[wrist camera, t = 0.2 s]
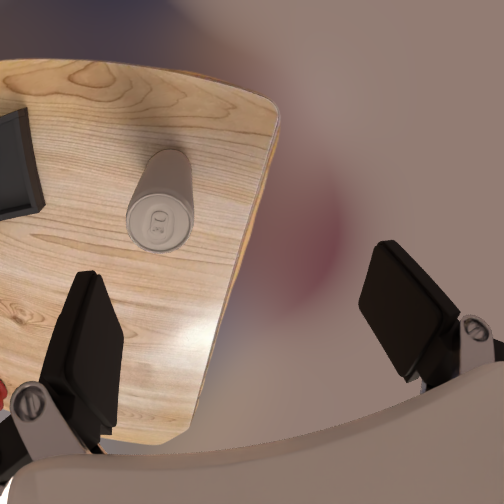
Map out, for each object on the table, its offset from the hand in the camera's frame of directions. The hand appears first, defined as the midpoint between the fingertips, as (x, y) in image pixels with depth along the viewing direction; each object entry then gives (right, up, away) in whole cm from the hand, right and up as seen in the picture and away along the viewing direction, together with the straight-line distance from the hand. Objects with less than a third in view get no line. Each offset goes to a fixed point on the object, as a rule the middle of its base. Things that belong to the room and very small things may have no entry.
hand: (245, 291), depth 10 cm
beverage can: (-8, +10, +19) cm, 23 cm away
